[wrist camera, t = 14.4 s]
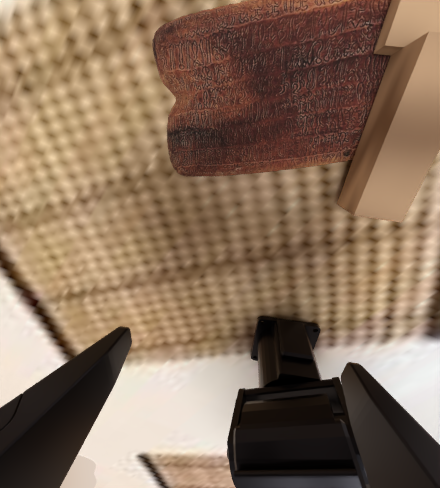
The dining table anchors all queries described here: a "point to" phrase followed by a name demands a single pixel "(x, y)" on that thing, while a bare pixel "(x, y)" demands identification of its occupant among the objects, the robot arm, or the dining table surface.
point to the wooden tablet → (270, 83)
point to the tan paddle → (399, 116)
